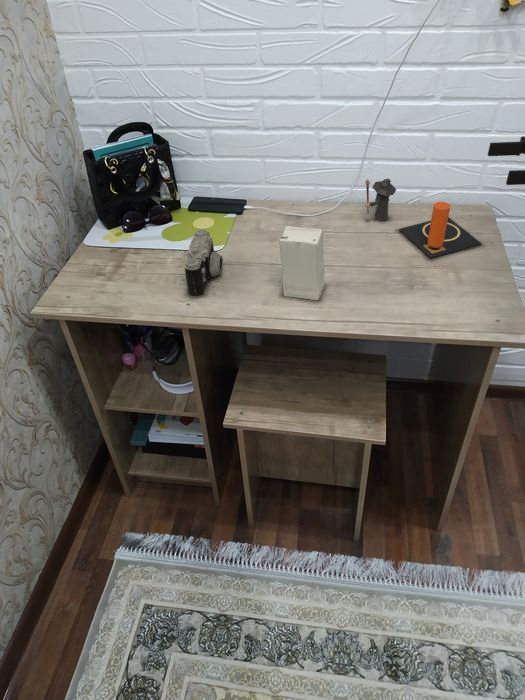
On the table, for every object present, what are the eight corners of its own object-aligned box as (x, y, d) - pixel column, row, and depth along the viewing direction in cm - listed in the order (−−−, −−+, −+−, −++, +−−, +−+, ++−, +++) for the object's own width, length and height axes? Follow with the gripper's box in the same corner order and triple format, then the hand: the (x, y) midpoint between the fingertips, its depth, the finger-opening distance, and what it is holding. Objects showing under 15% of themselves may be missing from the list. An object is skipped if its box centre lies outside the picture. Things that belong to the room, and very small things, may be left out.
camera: (216, 297, 127) (211, 260, 120) (186, 297, 128) (180, 259, 121) (227, 260, 137) (222, 223, 131) (199, 259, 138) (194, 223, 131)
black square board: (480, 245, 137) (481, 242, 136) (430, 259, 133) (430, 256, 133) (446, 218, 146) (447, 215, 146) (399, 230, 143) (399, 228, 143)
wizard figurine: (379, 210, 151) (383, 167, 143) (396, 217, 148) (401, 173, 140) (359, 222, 147) (362, 178, 139) (376, 229, 144) (381, 185, 136)
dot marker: (442, 251, 134) (450, 209, 127) (426, 250, 135) (433, 209, 127) (442, 243, 137) (449, 201, 129) (426, 242, 137) (433, 201, 130)
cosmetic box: (324, 286, 128) (326, 228, 118) (318, 302, 124) (319, 243, 114) (288, 281, 130) (286, 223, 120) (281, 296, 126) (278, 238, 116)
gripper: (623, 205, 110) (512, 209, 111) (574, 151, 129) (478, 155, 130) (639, 168, 105) (522, 172, 106) (585, 118, 124) (486, 122, 125)
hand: (498, 163), depth 118 cm, fingers open, 13 cm apart
